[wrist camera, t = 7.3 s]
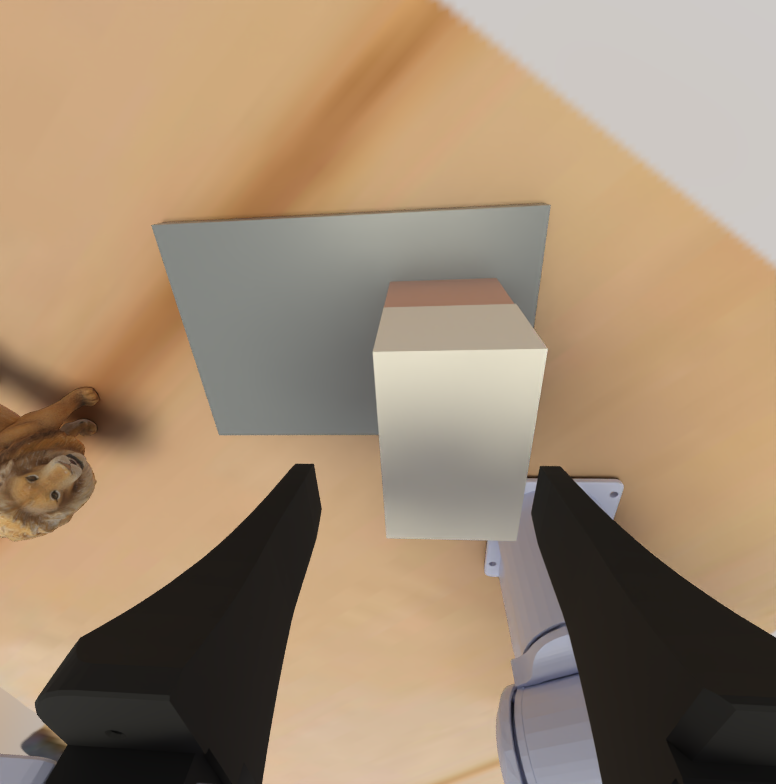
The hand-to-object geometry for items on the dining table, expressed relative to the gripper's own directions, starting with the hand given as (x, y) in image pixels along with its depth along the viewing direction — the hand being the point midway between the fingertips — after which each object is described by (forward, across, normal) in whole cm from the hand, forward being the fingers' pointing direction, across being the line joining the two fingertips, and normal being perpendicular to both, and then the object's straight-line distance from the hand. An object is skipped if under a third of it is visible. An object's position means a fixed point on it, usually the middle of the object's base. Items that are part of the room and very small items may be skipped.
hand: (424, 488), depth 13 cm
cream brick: (+5, -1, 0) cm, 5 cm away
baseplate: (+10, +3, -1) cm, 11 cm away
